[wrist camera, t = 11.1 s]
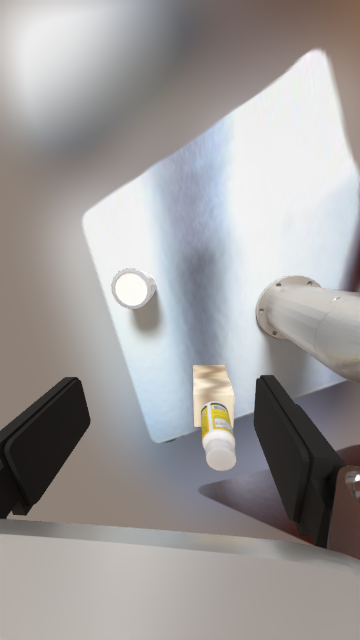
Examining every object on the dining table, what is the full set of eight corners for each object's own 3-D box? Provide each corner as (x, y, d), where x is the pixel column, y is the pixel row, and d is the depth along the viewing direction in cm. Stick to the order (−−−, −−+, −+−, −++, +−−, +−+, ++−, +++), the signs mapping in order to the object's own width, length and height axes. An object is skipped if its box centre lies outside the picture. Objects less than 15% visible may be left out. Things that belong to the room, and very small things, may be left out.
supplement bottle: (207, 425, 32) (211, 476, 24) (196, 405, 31) (196, 452, 23) (232, 417, 31) (244, 468, 23) (221, 396, 30) (230, 442, 22)
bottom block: (224, 364, 40) (228, 378, 35) (223, 391, 42) (227, 407, 37) (193, 365, 40) (193, 377, 36) (194, 391, 42) (194, 406, 37)
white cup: (146, 261, 35) (134, 259, 28) (165, 290, 36) (159, 295, 29) (119, 280, 36) (102, 283, 30) (139, 308, 38) (127, 316, 31)
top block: (229, 377, 35) (234, 395, 30) (228, 407, 37) (233, 427, 32) (193, 377, 36) (193, 394, 31) (194, 406, 37) (194, 426, 33)
